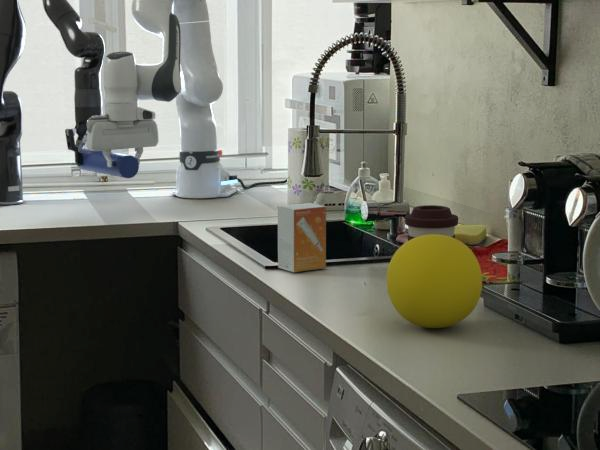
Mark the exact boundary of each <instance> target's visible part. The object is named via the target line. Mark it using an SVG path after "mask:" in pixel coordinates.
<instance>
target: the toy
mask: <svg viewBox="0 0 600 450" xmlns="http://www.w3.org/2000/svg"><path fill="white" fill-rule="evenodd" d="M482 275H483V274H482V269H481V265H480V262H479V260H478V258H477V256H476V255H475V253H474V252H473V251H472V249H470V248H469V246H468V245H466V244H465V243H464V242H463V241H461V240H460V239H457V238H456V237H455V238H452V237H449V236H445V235H438V234H430V235H423V236H419V237H416V238H413V239H411V240H409V241H408V240H407V241H406V242H404V243H403V244H402V245H400V246H399V247H398V248H397V249H396V251H395V252H394V253H393V255H392V257H391V259H390V262H389V264H388V268H387V272H386V289H387V295H388V297H389V299H390V302H391V305H392V306H393V308H394V309H395V311H396V312H397V313H398V314H399V315H400V316H401V317H402V318H403V319H404V320H406V321H407V322H409V323H411V324H413V325H415V326H419V327H423V328H427V329H443V328H449V327H451V326H454V325H456V324H458V323H460V322H462V321H463V320H465V319H466V318H467V317H469V316H470V315H471V314H472V312H473V311H474V310H475V308H476V307H477V305H478V303H479V300H480V299H481V294H482V290H483V276H482Z"/></svg>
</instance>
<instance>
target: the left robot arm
mask: <svg viewBox="0 0 600 450" xmlns="http://www.w3.org/2000/svg"><path fill="white" fill-rule="evenodd" d="M41 1H42V6H43V10H44V12H45V14H46V16H47V18H48V19H49V21H50V22H51V23H52V24H53V25H54V27H55V28H56V29H57V31H58V32H59V34H60V36H61V39H62V41H63V44H64V46H65V47H66V50H67V51H68V52H69V53H70V55H72V56H73V57H75V58H78V59H83V60H82V64H81V65H80V66H78V67H76V68H75V69H74V75H73V77H74V94H73V95H74V97H73V99H74V100H73V101H74V102H73V103H74V121H75V126H74V127H73V128H65V130H64V133H65V141H66V146H67V151H68V150H69V151H72V152H74V162H75V164H76V166H77V165H78V166H82V165H83V157H82V153H81V151H82V149H84V146H85V145H86V142H87V120H88V119H89V118H90V117H91V116H93V115H97V116H99V115H103V95H102V89H101V71H102V67H103V62H104V56H105V52H106V51H105V50H106V47H105V41H104V39H103V37H102V36H101V34H99V32H97V31H96V32H95V31H83V30H81V28H82V25H83V20H82V18H81V16H80V15H79V13H78V12H77V11H76V10H75V8H74V7H73V6H72V5H71V3H70V2H69V0H41ZM26 35H27V24H26V21H25V18H24V15H23V12H22V9H21V7H20V2H19V0H0V206H11V205H21V204H23V203H24V202H25V201H24V187H23V170H22V169H23V168H22V167H23V166H22V151H21V139H22V135H23V105H22V101H21V99H20V97H19V95H18V93H17V92H15V91H13V90H4V89H5V85H6V81H7V78H8V76H9V74H10V73H11V71H12V70H13V68H14V67H15V66H16V64H17V63H18V61H19V60H20V59H21V56H22V54H23V52H24V50H25V49H24V48H25V43H26V37H27V36H26ZM90 120H92V119H90ZM97 120H98V119H97ZM76 135H77V138H76V139H75V136H76ZM78 166H77V167H78Z"/></svg>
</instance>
